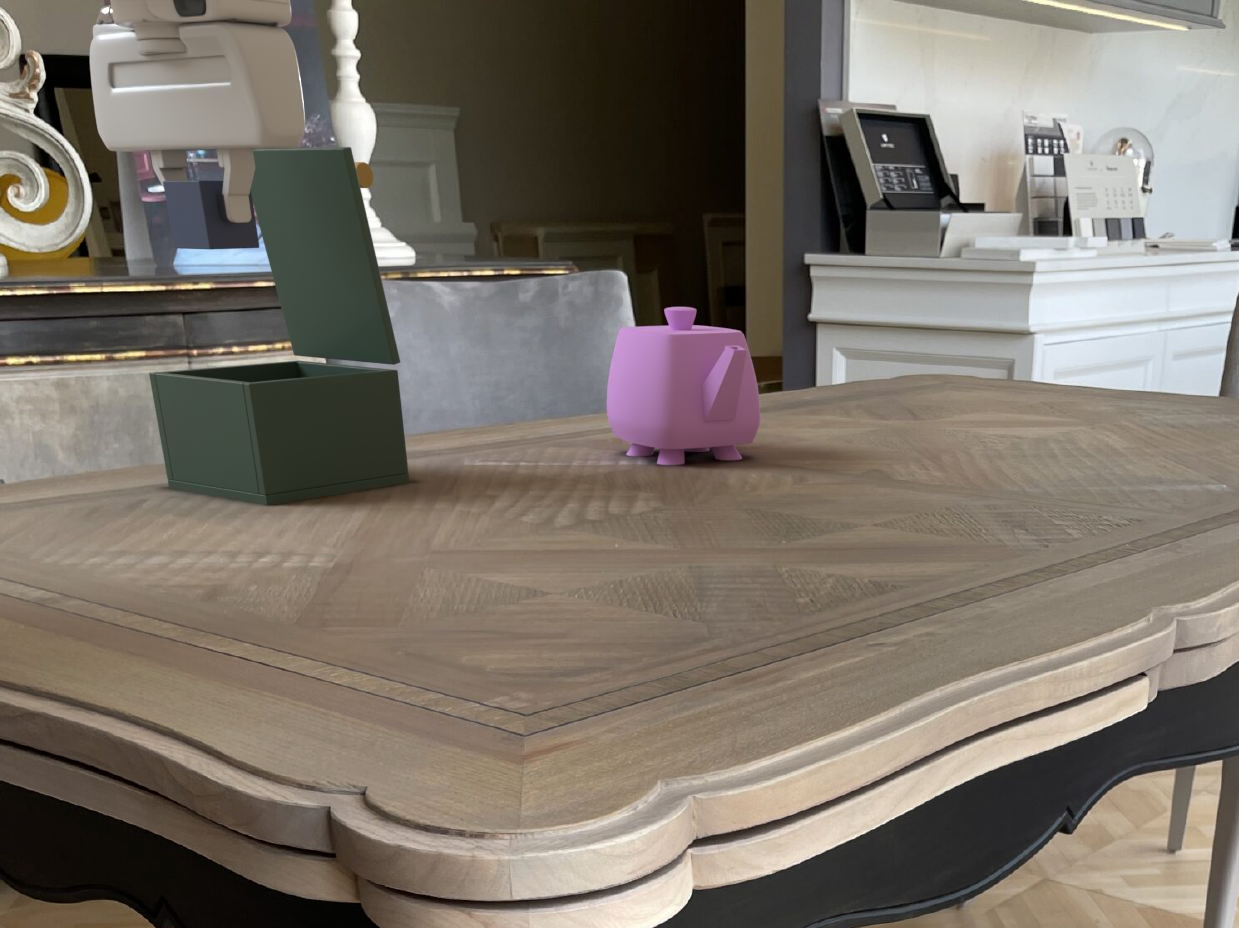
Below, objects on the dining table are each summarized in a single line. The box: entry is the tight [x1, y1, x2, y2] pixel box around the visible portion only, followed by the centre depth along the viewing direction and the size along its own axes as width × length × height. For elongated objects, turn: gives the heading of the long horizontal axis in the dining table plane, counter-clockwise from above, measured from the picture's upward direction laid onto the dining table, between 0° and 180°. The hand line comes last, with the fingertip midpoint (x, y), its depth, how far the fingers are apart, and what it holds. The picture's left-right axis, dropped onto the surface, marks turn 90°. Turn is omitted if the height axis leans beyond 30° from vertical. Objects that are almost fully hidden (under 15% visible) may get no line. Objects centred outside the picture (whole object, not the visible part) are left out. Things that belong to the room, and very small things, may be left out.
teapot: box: [606, 306, 761, 466], centre depth 144 cm, size 20×12×13 cm, turn 33°
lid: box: [251, 146, 401, 366], centre depth 128 cm, size 15×13×5 cm
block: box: [163, 180, 260, 250], centre depth 116 cm, size 4×4×4 cm
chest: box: [148, 360, 410, 506], centre depth 128 cm, size 15×13×9 cm
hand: (212, 222), depth 116 cm, fingers closed on block, 4 cm apart
